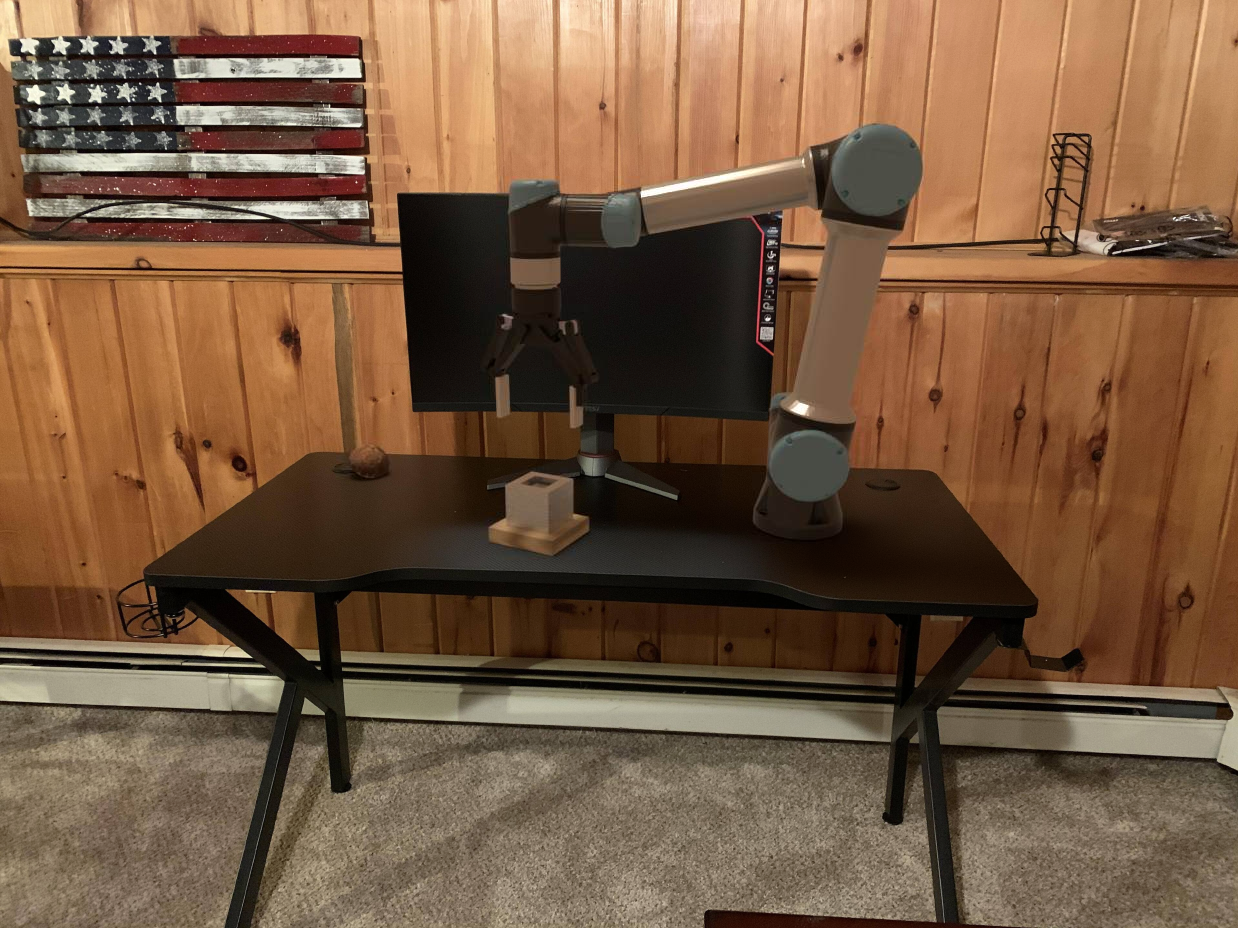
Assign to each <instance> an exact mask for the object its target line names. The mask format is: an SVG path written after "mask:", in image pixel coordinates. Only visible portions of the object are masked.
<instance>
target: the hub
mask: <svg viewBox="0 0 1238 928" xmlns="http://www.w3.org/2000/svg"><path fill="white" fill-rule="evenodd" d="M536 483H537V484H542V485H547V486H548V487H546V488H540V487H535V486H532V485H534V484H536ZM504 488H505V490H504V491H505V518H506V526H510V527H515V528H520V529H524V530H529V531H534V532H539V533H543V534H548V535H549V534H550V533H552V532H553V531H555V530H557V529H558V528H560V527H561V526H563V525H564V524H566V523H567V522H569V521H570V520H572V519H573V514H574V478H570V477H566V476H565V477H564V476H559V475H553V474H548V473H543V472H542V473H541V472H537V471H530V472H528V473H526V474H524V475H523V476H520V477H518V478H516V479H514V480H512V481H510V482H509V483H507V484H505V485H504Z"/></svg>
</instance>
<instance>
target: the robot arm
mask: <svg viewBox="0 0 1238 928" xmlns="http://www.w3.org/2000/svg"><path fill="white" fill-rule="evenodd" d="M923 173H924V163H923V156H922V153H921V149H920V148H919V145H918V144H917V142H916V141H915V140H914V138H913V137H912V135H910V134H909V133H908V132H907V131H905V130H904V129H902V128H901V127H900V128H899V127H898V126H896V125H893V124H888V123H877V122H873V123H867V124H864V125H862V126H859V127H857V128H855V129H854V130H853V131H851V132H849V133H848V134H846V135H843V136H841V137H838V138H836V139H833V140H830V141H828V142H825V143H820V144H815V145H811V146H806V148H805V150H804V151H803V153H801V154H800V155H795V156H791V157H790V156H789V157H785V158H780V159H774V160H768V161H765V162H764V161H763V162H760V163H759V162H758V163H754V164H749V165H744V166H738V167H733V168H729V169H728V168H727V169H723V170H719V171H713V172H708V173H704V174H698V175H693V176H688V177H683V178H678V179H673V180H668V181H662V182H657V183H652V184H646V185H642V186H637V187H631V188H626V189H622V190H621V189H620V190H614V191H608V192H605V193H582V194H581V193H580V194H570V193H562V192H561V190H560V184H559V182H558V181H557V180H554V179H516V180H514V181H512V182H511V184H510V185H509V191H508V210H507V215H508V224H509V225H508V226H509V228H508V229H509V246H510V257H509V258H510V260H509V261H510V264H509V265H510V283H511V284H512V285H514V286H513V287H512V289H511V290H510V291H511V310H512V312H513V316H511V315H510V314H509V313H503V314H498V315H496V317H495V323H494V331H493V333H492V336H491V339H490V341H489V344H488V346H487V348H486V352H485V353H484V356H483V359H482V361H481V362H480V363H481V364H480V367H479V368H480V371H482V372H486V373H487V374H489V375H490V377H491V393H492V395H493V396H494V397H495V398H496V399H495V400H496V402H495V403H496V418H498V419H499V418H500V419H502V418H504V417H507V416H509V415H510V414H511V406H510V404H511V403H510V401H511V400H510V397H511V396H510V375H509V374H506V373H507V369H508V368H509V367H510V365H511V364H512V363H513V361H514V360H515V359H516V357H517V356H518V355H519V353H520V352H521V350H522V349H523V348H524V347H528V348H530V347H536V348H538V349H545V348H546V349H547V350H548V352H550V353H551V354H552V355H553V356H554V358H555V359H556V360H557V362H558V363H559V365H560V366H561V368H562V369H563V371H564V372H565V373H566V375H567V376H568V377H569V379H570V381H571V382H572V383H573V385H570V386H569V428H570V429H576V428H578V427H581V426H582V425H583V424H584V410H583V409H584V406H587V404H588V385H590V384H592V383H595V382H597V381H598V380H599V378H600V377H599V373H598V371H597V369H596V366H595V364H594V362H593V360H592V357H591V355H590V352H589V351H588V348H587V346H586V343H585V341H584V338H583V336H582V333H581V325H580V321H579V319H576V318H575V319H572V320H565V321H562V318H561V310H562V289H561V288H560V286H558V285H559V284H560V283H561V247H562V246H564V247H595V248H597V247H598V248H599V247H600V248H601V247H603V248H604V247H605V248H612V249H618V248H627V247H630V248H632V247H635V246H636V245H638V243H639V240H640V237H643V236H648V235H652V234H657V233H663V232H669V231H674V230H680V229H685V228H690V227H691V228H692V227H696V226H703V225H707V224H713V223H719V222H724V221H730V220H735V219H740V218H747V217H751V216H753V217H754V216H758V215H762V214H763V215H764V214H770V213H774V212H775V213H776V212H780V211H786V210H791V209H796V208H797V209H798V208H802V207H809V208H811V209H812V210H813V211H815V212H816V211H821V213H820V214H821V215H820V221H821V223H822V224H823V226H824V227H825V229H826V231H827V237H826V241H825V245H824V250H823V254H822V258H821V262H820V263H821V265H820V268H819V272H818V277H817V282H816V286H815V290H814V295H813V300H812V305H811V309H810V313H809V319H808V323H807V327H806V331H805V336H804V339H803V345H802V350H801V354H800V357H799V358H800V359H799V363H798V369H797V371H796V377H795V381H794V386H793V390H792V391H790V392H787V391H786V392H779V393H776V394H774V395H773V396H772V397H771V402H770V407H769V408H768V412H769V427H768V438H767V439H768V440H767V459H766V470H765V471H766V474H765V480H764V483H763V485H762V488H761V490H760V492H759V496H758V497H757V500H756V502H755V504H754V507H753V515H752V522H753V525H755V527H756V528H757V529H759V530H761V531H762V532H764V533H767V534H768V535H772V536H775V537H778V538H784V539H789V540H798V541H814V540H822V539H823V540H825V539H829V538H832V537H834V536H836V535H838V534H839V533H841V531H842V530H843V521H844V520H843V518H844V515H843V512H842V511H843V510H842V507H841V503H840V499H839V495H838V492H839V490H841V488H842V487H843V486H844V484H845V483H846V481H847V478H848V475H849V472H850V471H851V469H850V468H851V464H850V463H851V459H850V454H849V453H850V449H851V444H852V441H853V437H854V431H855V428H856V424H857V421H858V416H857V415H856V412H855V411H854V410H853V408H852V407H851V401H852V396H853V392H854V388H855V384H856V381H857V375H858V371H859V368H860V364H861V358H862V357H863V356H862V355H863V351H864V347H865V343H866V339H867V335H868V331H869V327H870V322H871V319H872V313H873V310H874V306H875V301H876V297H877V295H878V294H877V292H878V289H879V284H880V281H881V277H882V273H883V268H884V264H885V261H886V256H887V252H888V249H889V244H890V243H891V242H892V241H894V240H895V239H896V238H897V237H899V236H900V235H902V234H903V232H904V230H905V225H906V222H907V219H908V218H907V217H908V212H909V209H910V205H911V201H912V200H913V198H914V196H915V195H916V193H918V188H920V186H921V183H922V179H923ZM510 329H513V330H514V331H515V334H514V336H513V337H512V338H511V340H510V341H509V345H508V346H507V347H506V348H505V350H504V351H503V353H502V354H501V352H502V350H503V348H504V345H505V342H506V341H507V338H508V335H509V332H510ZM561 331H562V334H564V335H565V338H566V341H567V343H568V346H569V348H570V350H571V351H570V350H569V349H568V348H567V346H566V342H565V341H564V339H563V338H562V336H561V335H560V333H561ZM571 352H572V353H571ZM500 354H501V355H500Z"/></svg>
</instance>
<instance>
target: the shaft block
mask: <svg viewBox="0 0 1238 928" xmlns="http://www.w3.org/2000/svg"><path fill="white" fill-rule="evenodd" d="M532 486H535V487H540V488H546V487H548V486H547V485H542V484H537V483H536V484H534V485H532ZM589 531H590V516H587V515H586V516H585V515H582V514H577V513H573V519H572V520H570V521H569V522H567V523H566V524H564V525H563V526H561V527H560V528H558V529H557V530H555V531H553V532H552V533H550V534H549V535H548V534H543V533H539V532H534V531H529V530H524V529H520V528H515V527H510V526H506V517H505V518H503V519H500V520H499V521H496V522H495V523H493V524H492V525H491V526H488V542H489V543H493V544H498V545H502V546H506V547H511V548H516V549H521V550H523V551H529V552H534V553H537V554H543V555H546V556H550V557H551V556H552V557H553V556H555V555H556V554H557V553H559V552H561V551H562V550H563V549H565V548H566V547H568V546H569V545H570V544H572V543H573V542H575V541H576V540H578V539H579V538H581V537H582V536H583V535H585V534H586V533H588V532H589Z"/></svg>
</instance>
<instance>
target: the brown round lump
mask: <svg viewBox="0 0 1238 928" xmlns="http://www.w3.org/2000/svg"><path fill="white" fill-rule="evenodd" d="M348 463H349V467H350V468H351V469H352V470H353V472H354V473H355V474H357V475H358V476H359V477H363V478H366V479H376V478H380V477H382V476H383V475H384V474H385V475H386V473H387V472H388V470H389V467H390V459H389V456H388V454H387V452H385V451H384V449H382V448H381V447H379V446H377V445H375V444H370V443H368V444H367V443H365V444H362V445H359V446H356V447H355V448H354V449H353V450H352V451H351V452H350V454H349V457H348Z"/></svg>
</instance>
